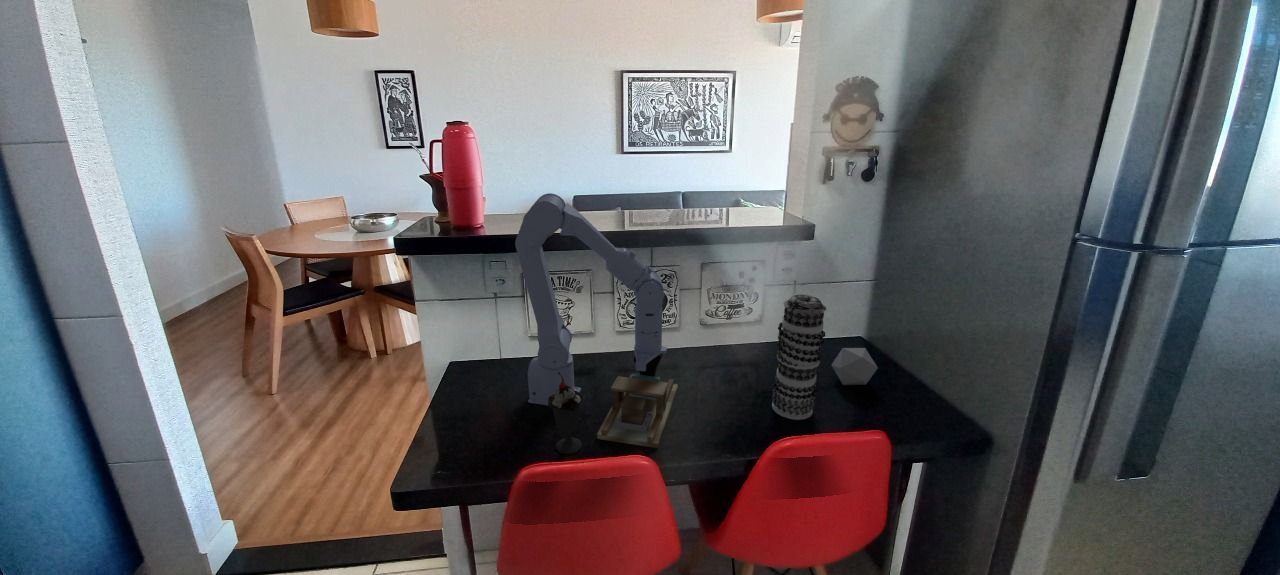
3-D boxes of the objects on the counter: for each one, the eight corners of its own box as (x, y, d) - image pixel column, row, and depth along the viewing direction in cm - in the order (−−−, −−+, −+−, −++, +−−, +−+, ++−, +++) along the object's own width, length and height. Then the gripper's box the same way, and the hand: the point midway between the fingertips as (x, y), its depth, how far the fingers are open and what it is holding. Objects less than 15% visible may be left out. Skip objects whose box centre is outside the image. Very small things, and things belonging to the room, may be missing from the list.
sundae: (559, 432, 99) (555, 364, 94) (591, 438, 97) (589, 370, 92) (544, 453, 93) (539, 382, 88) (578, 460, 91) (574, 388, 86)
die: (864, 375, 122) (842, 339, 122) (891, 374, 113) (868, 336, 113) (840, 394, 119) (818, 358, 119) (867, 395, 111) (843, 357, 111)
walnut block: (621, 424, 99) (621, 406, 97) (626, 412, 102) (626, 395, 101) (641, 427, 98) (641, 409, 96) (646, 415, 101) (646, 398, 100)
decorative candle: (766, 415, 105) (778, 303, 96) (773, 393, 113) (784, 288, 104) (812, 425, 101) (829, 310, 93) (815, 401, 110) (830, 294, 101)
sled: (614, 427, 99) (614, 407, 97) (632, 392, 111) (632, 373, 109) (646, 432, 97) (646, 412, 96) (660, 395, 109) (661, 377, 108)
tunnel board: (597, 438, 97) (596, 407, 95) (627, 381, 117) (626, 355, 115) (657, 448, 94) (658, 416, 92) (677, 388, 114) (678, 361, 112)
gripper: (660, 345, 99) (659, 404, 104) (673, 317, 112) (671, 370, 117) (625, 341, 101) (626, 400, 105) (642, 314, 114) (642, 367, 118)
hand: (647, 384), depth 111 cm, fingers closed
